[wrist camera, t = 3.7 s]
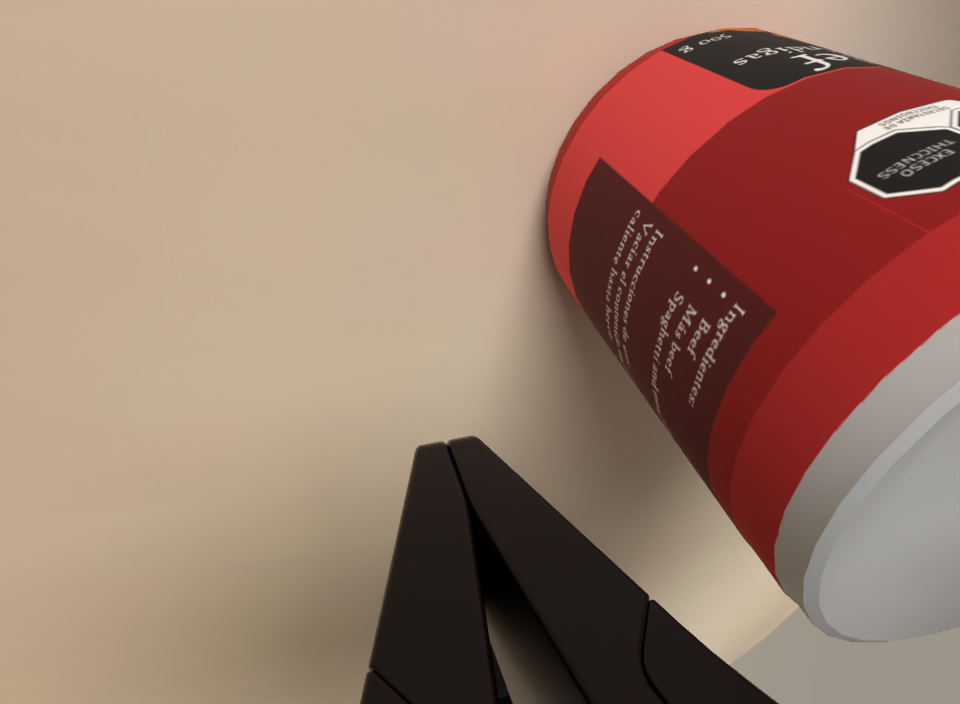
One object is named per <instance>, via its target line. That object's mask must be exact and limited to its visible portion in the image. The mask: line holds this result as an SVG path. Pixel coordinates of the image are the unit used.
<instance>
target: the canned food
mask: <svg viewBox="0 0 960 704" xmlns="http://www.w3.org/2000/svg"><path fill="white" fill-rule="evenodd" d="M546 205H547V224H548V236H549V245H550V249H551V252H552V256H553V259H554V263H555V266H556V269H557V271H558V272H559V274H560V276H561V278H562V279H563V281H564V283H565V284H566V286H567V288H568V289H569V291H570V292H571V294H572V295H573V296H574V298H575V299H576V301H577V302H578V303H579V305H580V306H581V308H582V309H583V311H584V312H585V313H586V315H587V316H588V318H589V319H590V321H591V322H592V323H593V325H594V326H595V328H596V329H597V330H598V332H599V333H600V335H601V336H602V338H603V339H604V340H605V342H606V343H607V345H608V346H609V348H610V349H611V350H612V352H613V353H614V355H615V356H616V357H617V359H618V360H619V362H620V363H621V365H622V366H623V367H624V369H625V370H626V372H627V373H628V375H629V376H630V377H631V379H632V380H633V382H634V383H635V384H636V386H637V387H638V389H639V390H640V392H641V393H642V394H643V396H644V397H645V399H646V400H647V401H648V403H649V404H650V406H651V407H652V409H653V410H654V411H655V413H656V414H657V416H658V417H659V419H660V420H661V421H662V423H663V424H664V426H665V427H666V428H667V430H668V431H669V433H670V434H671V436H672V437H673V438H674V440H675V441H676V443H677V444H678V446H679V447H680V448H681V450H682V451H683V453H684V454H685V455H686V457H687V458H688V460H689V461H690V463H691V464H692V465H693V467H694V468H695V470H696V471H697V473H698V474H699V475H700V477H701V478H702V480H703V481H704V482H705V484H706V485H707V487H708V488H709V490H710V491H711V492H712V494H713V495H714V497H715V498H716V500H717V501H718V502H719V504H720V505H721V507H722V508H723V509H724V511H725V512H726V514H727V515H728V517H729V518H730V519H731V521H732V522H733V524H734V525H735V527H736V528H737V529H738V531H739V532H740V534H741V535H742V536H743V538H744V539H745V540H746V541H747V543H748V544H749V545H750V546H751V547H752V549H753V550H754V551H755V552H756V554H757V555H758V556H759V558H760V559H761V561H762V562H763V563H764V565H765V566H766V568H767V569H768V571H769V572H770V573H771V575H772V576H773V578H774V579H775V580H776V582H777V583H778V585H779V586H780V587H781V589H782V590H783V592H784V593H785V594H786V595H787V596H788V597H790V598H791V599H792V600H793V601H794V602H795V603H797V604H798V605H799V606H800V608H801V609H802V611H803V612H804V613H805V615H806V616H807V618H808V619H809V620H810V622H811V623H812V624H813V625H814V626H816V627H817V628H818V629H820V630H821V631H823V632H824V633H825V634H827V635H828V636H831V637H835V638H839V639H842V640H846V641H850V642H887V641H894V640H901V639H908V638H915V637H921V636H925V635H929V634H933V633H937V632H941V631H944V630H948V629H951V628H955V627H959V626H960V89H958V88H955V87H951V86H948V85H945V84H941V83H938V82H935V81H931V80H928V79H925V78H922V77H918V76H915V75H912V74H908V73H905V72H902V71H898V70H895V69H892V68H888V67H885V66H882V65H878V64H875V63H872V62H868V61H865V60H862V59H858V58H855V57H852V56H849V55H845V54H842V53H839V52H835V51H832V50H829V49H825V48H822V47H819V46H815V45H812V44H809V43H805V42H802V41H799V40H795V39H792V38H789V37H786V36H782V35H779V34H775V33H771V32H767V31H763V30H759V29H756V28H724V29H720V30H715V31H711V32H706V33H702V34H698V35H694V36H689V37H685V38H681V39H677V40H674V41H672V42H669V43H667V44H665V45H663V46H661V47H658V48H656V49H654V50H652V51H650V52H647V53H646V54H644V55H643V56H641V57H640V58H638V59H637V60H635V61H634V62H633V63H631V64H630V65H628V66H627V67H625V68H624V69H622V70H621V71H619V72H618V73H617V74H616V75H615V76H614V77H613V78H612V79H611V80H610V81H609V82H608V83H607V84H606V85H605V86H604V87H603V88H602V89H601V90H599V91H598V92H597V93H596V94H595V95H594V97H593V98H592V99H591V101H590V102H589V103H588V105H587V106H586V107H585V109H584V110H583V111H582V113H581V114H580V115H579V116H578V118H577V119H576V120H575V122H574V124H573V126H572V128H571V129H570V131H569V133H568V135H567V137H566V139H565V141H564V142H563V144H562V146H561V148H560V150H559V153H558V156H557V159H556V162H555V165H554V168H553V171H552V174H551V177H550V183H549V190H548V197H547V204H546Z"/></svg>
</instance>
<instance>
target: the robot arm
mask: <svg viewBox="0 0 960 704" xmlns="http://www.w3.org/2000/svg"><path fill="white" fill-rule="evenodd" d="M360 704H779V703H777V702H776V701H775V700H773V699H772V698H771V697H769V696H768V695H767V694H765V693H764V692H763V691H762V690H760V689H759V688H758V687H756V686H755V685H754V684H752V683H751V682H750V681H749V680H747V679H746V678H745V677H743V676H742V675H741V674H740V673H738V672H737V671H736V670H735V669H733V668H732V667H731V666H730V665H728V664H727V663H726V662H724V661H723V660H722V659H721V658H719V657H718V656H717V655H716V654H714V653H713V652H712V651H711V650H710V649H708V648H707V647H706V646H705V645H704V644H703V643H702V642H700V641H699V640H698V639H697V638H696V637H695V636H694V635H692V634H691V633H690V632H689V631H688V630H687V629H686V628H684V627H683V626H682V625H681V624H680V623H679V622H678V621H676V620H675V619H674V618H673V617H672V616H671V615H670V614H669V613H668V612H667V611H666V610H665V609H664V608H662V607H661V606H660V605H659V604H658V603H657V602H656V601H655V600H650V601H649V595H648V594H647V593H646V592H645V591H644V590H643V589H642V588H640V587H639V586H638V585H637V584H636V583H635V582H634V581H633V580H632V579H631V578H630V577H629V576H627V575H626V574H625V573H624V572H623V571H622V570H621V569H620V568H619V567H618V566H617V565H616V564H614V563H613V562H612V561H611V560H610V559H609V558H608V557H607V556H606V555H605V554H604V553H603V552H601V551H600V550H599V549H598V548H597V547H596V546H595V545H594V544H593V543H592V542H591V541H589V540H588V539H587V538H586V537H585V536H584V535H583V534H582V533H581V532H580V531H579V530H578V529H576V528H575V527H574V526H573V525H572V524H571V523H570V522H569V521H568V520H567V519H566V518H565V517H563V516H562V515H561V514H560V513H559V512H558V511H557V510H556V509H555V508H554V507H553V506H552V505H550V504H549V503H548V502H547V501H546V500H545V499H544V498H543V497H542V496H541V495H540V494H538V493H537V492H536V491H535V490H534V489H533V488H532V487H531V486H530V485H529V484H528V483H527V482H525V481H524V480H523V479H522V478H521V477H520V476H519V475H518V474H517V473H516V472H515V471H514V470H512V469H511V468H510V467H509V466H508V465H507V464H506V463H505V462H504V461H503V460H502V459H500V458H499V457H498V456H497V455H496V454H495V453H494V452H493V451H492V450H491V449H490V448H489V447H487V446H486V445H485V444H484V443H483V442H482V441H481V440H480V439H479V438H478V437H475V436H467V437H462V438H457V439H452V440H449V441H448V442H447V445H446V444H445V442H435V443H430V444H425V445H420V446H418V447H417V449H416V451H415V455H414V460H413V464H412V469H411V473H410V478H409V483H408V487H407V492H406V496H405V501H404V506H403V510H402V515H401V520H400V524H399V529H398V533H397V538H396V543H395V547H394V552H393V556H392V561H391V566H390V570H389V575H388V579H387V584H386V589H385V593H384V598H383V602H382V607H381V612H380V616H379V621H378V626H377V630H376V635H375V639H374V644H373V649H372V653H371V658H370V662H369V672H368V673H367V675H366V679H365V684H364V688H363V693H362V697H361V702H360Z"/></svg>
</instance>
